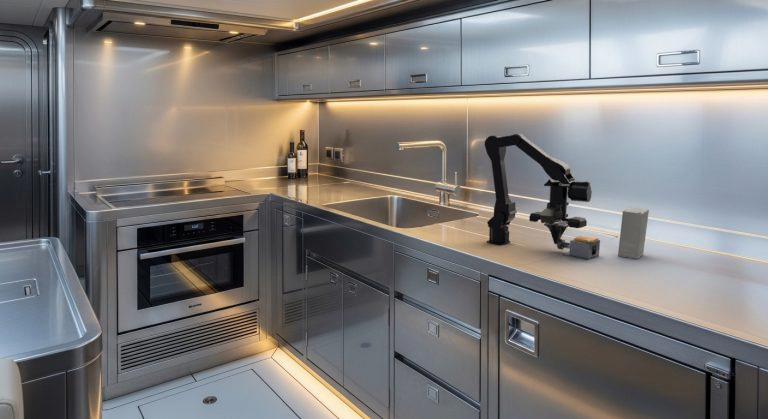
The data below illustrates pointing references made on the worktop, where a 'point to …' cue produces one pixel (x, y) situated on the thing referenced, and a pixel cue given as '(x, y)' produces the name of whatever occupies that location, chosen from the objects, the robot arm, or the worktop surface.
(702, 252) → the worktop surface
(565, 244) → the pin
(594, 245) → the bracket
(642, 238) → the skincare box
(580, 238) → the plate
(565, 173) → the robot arm
